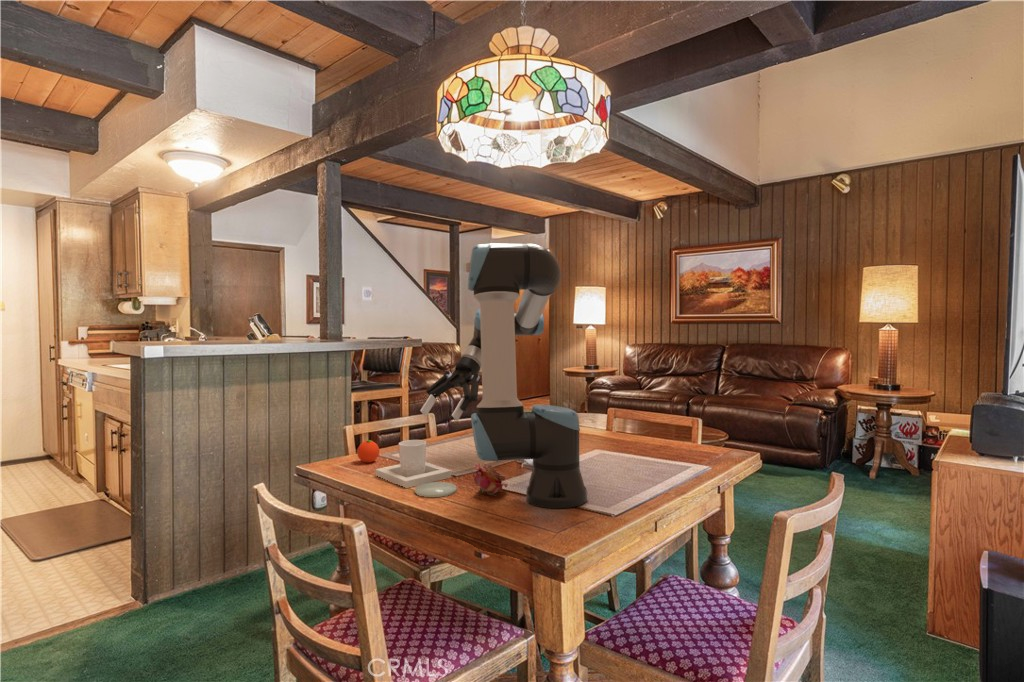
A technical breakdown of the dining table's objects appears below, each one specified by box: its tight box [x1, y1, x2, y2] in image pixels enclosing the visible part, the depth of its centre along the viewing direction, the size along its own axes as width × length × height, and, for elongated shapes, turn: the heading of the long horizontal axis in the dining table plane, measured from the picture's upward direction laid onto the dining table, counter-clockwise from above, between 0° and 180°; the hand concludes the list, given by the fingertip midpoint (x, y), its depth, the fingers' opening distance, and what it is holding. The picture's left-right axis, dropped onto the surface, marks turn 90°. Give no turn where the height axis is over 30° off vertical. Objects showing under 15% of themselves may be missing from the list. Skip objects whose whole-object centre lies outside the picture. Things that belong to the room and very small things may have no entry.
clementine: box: [356, 439, 380, 464], centre depth 178 cm, size 8×7×7 cm
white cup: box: [398, 439, 427, 477], centre depth 160 cm, size 8×8×10 cm
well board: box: [375, 461, 452, 489], centre depth 160 cm, size 17×15×2 cm
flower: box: [472, 462, 509, 497], centre depth 143 cm, size 10×9×8 cm
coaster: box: [414, 481, 457, 498], centre depth 146 cm, size 11×11×1 cm
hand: (438, 415), depth 169 cm, fingers open, 13 cm apart
